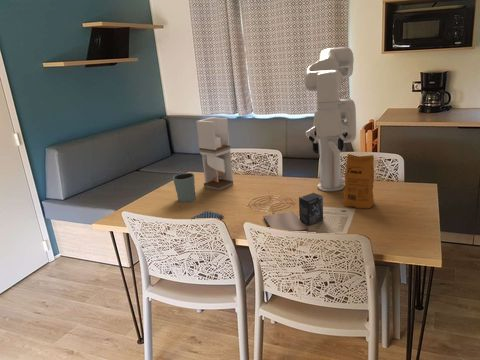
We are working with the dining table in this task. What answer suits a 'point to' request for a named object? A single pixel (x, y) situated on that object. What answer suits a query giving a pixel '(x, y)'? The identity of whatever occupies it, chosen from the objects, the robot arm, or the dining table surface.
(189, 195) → the teal cup
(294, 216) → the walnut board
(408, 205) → the dining table surface
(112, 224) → the dining table surface
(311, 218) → the box
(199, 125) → the white drip coffee maker
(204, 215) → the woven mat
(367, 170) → the coffee package
